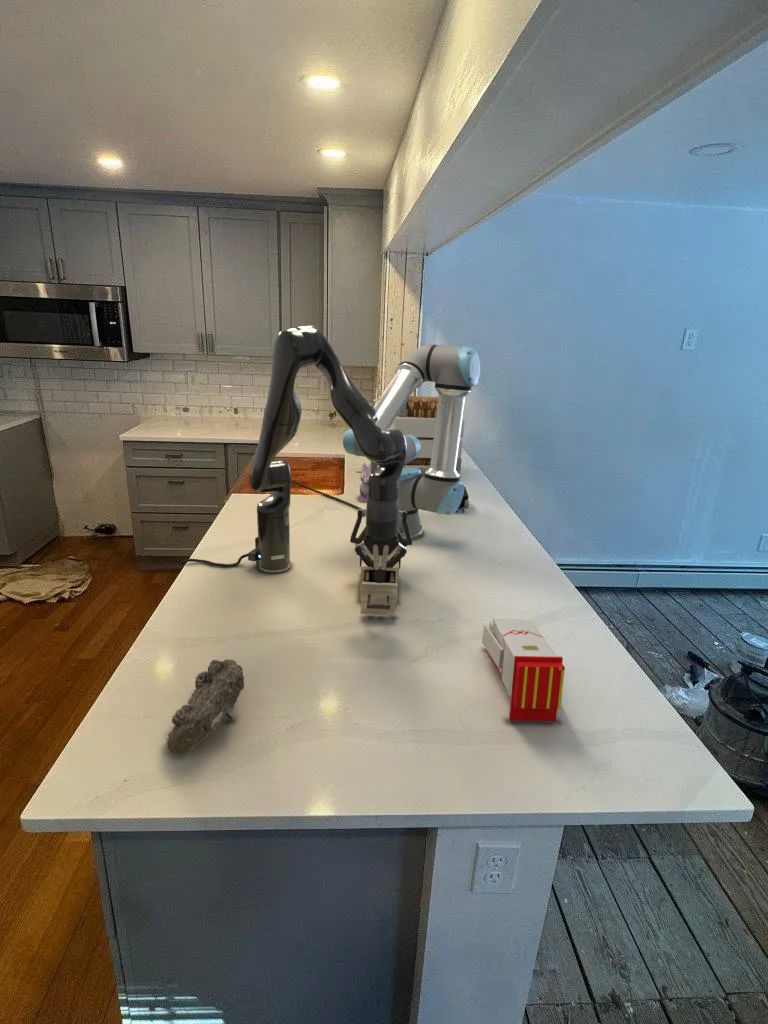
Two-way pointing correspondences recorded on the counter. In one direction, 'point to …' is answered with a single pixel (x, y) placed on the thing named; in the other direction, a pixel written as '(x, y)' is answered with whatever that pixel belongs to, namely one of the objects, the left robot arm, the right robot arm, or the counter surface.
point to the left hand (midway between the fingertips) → (379, 581)
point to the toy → (526, 669)
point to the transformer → (422, 427)
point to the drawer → (379, 594)
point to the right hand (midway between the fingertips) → (380, 565)
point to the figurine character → (464, 501)
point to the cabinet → (365, 567)
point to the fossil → (206, 705)
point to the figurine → (364, 482)
